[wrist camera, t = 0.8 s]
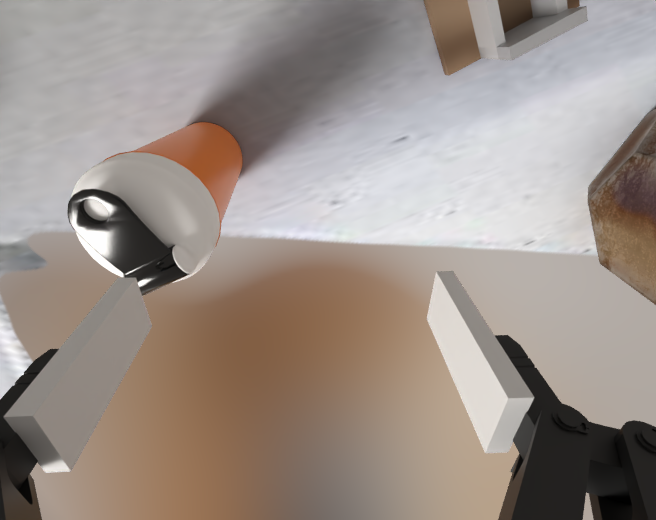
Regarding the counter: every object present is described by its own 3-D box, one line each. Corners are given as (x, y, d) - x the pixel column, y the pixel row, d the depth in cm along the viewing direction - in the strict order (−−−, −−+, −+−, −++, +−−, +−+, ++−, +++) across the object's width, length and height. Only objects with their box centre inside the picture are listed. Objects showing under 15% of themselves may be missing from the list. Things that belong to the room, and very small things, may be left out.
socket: (464, -15, 30) (494, -27, 25) (532, -54, 29) (579, -76, 24) (481, 58, 33) (511, 60, 28) (544, 24, 32) (587, 20, 27)
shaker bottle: (210, 92, 34) (113, 137, 17) (268, 166, 38) (236, 263, 21) (147, 145, 37) (5, 232, 20) (208, 210, 41) (135, 329, 24)
